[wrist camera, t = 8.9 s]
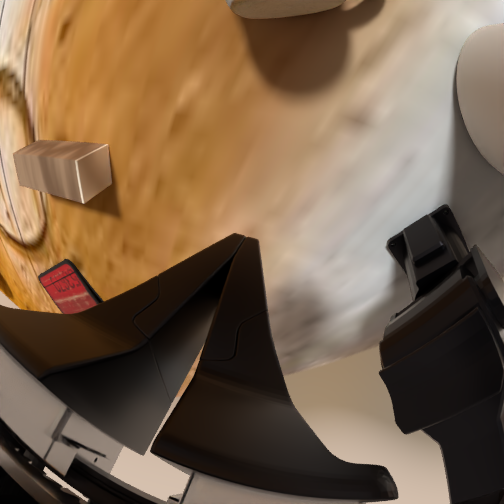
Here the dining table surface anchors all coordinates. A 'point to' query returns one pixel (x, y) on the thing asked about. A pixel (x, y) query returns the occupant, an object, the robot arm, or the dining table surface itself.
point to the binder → (69, 288)
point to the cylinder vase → (483, 91)
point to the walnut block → (64, 168)
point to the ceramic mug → (279, 7)
